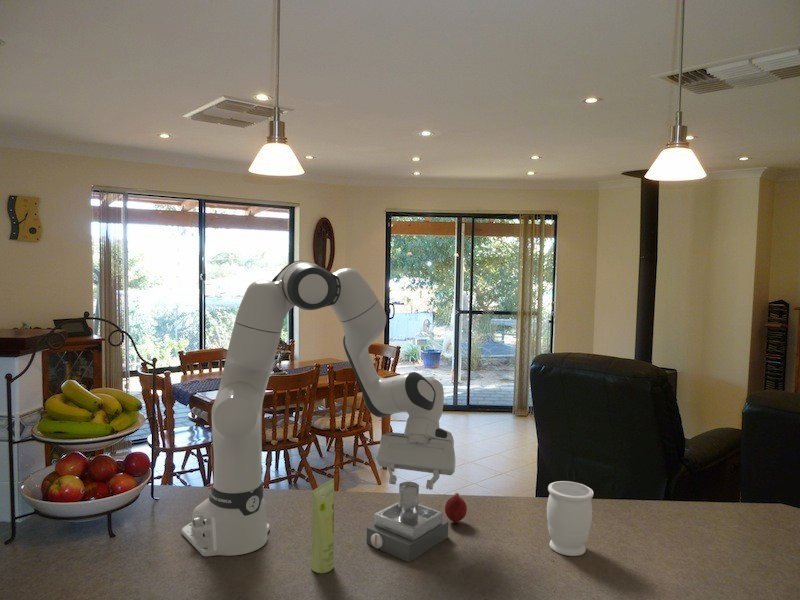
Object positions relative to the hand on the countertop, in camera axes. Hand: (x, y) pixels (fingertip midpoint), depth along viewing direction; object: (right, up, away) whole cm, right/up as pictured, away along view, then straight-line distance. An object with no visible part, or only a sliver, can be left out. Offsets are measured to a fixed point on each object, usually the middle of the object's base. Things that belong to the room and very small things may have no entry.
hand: (410, 485), depth 144 cm
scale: (-1, -13, 0) cm, 13 cm away
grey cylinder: (-1, -9, 0) cm, 9 cm away
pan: (-1, -9, 0) cm, 9 cm away
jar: (+38, -15, -1) cm, 41 cm away
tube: (-20, -14, -14) cm, 28 cm away
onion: (+12, -13, +10) cm, 21 cm away
